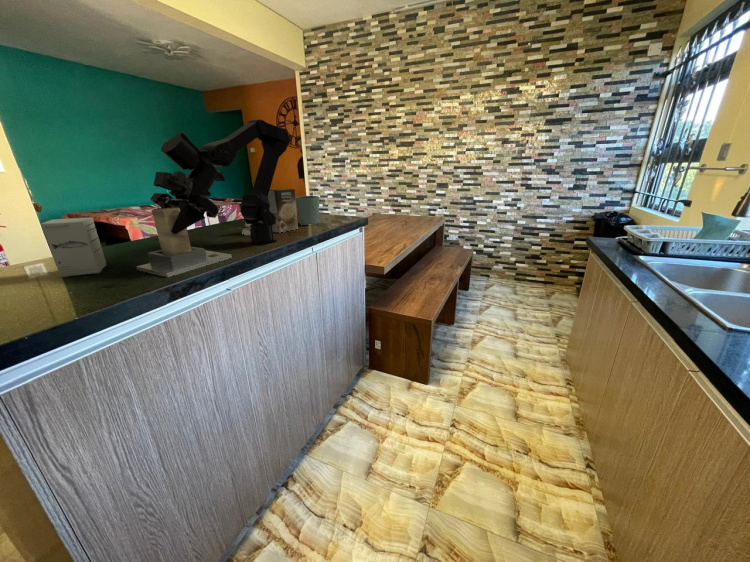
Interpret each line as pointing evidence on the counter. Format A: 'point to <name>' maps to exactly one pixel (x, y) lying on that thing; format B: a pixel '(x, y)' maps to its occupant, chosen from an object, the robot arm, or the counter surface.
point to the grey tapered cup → (308, 209)
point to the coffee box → (283, 209)
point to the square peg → (168, 240)
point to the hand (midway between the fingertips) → (166, 232)
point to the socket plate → (180, 261)
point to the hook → (247, 230)
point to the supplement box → (74, 246)
